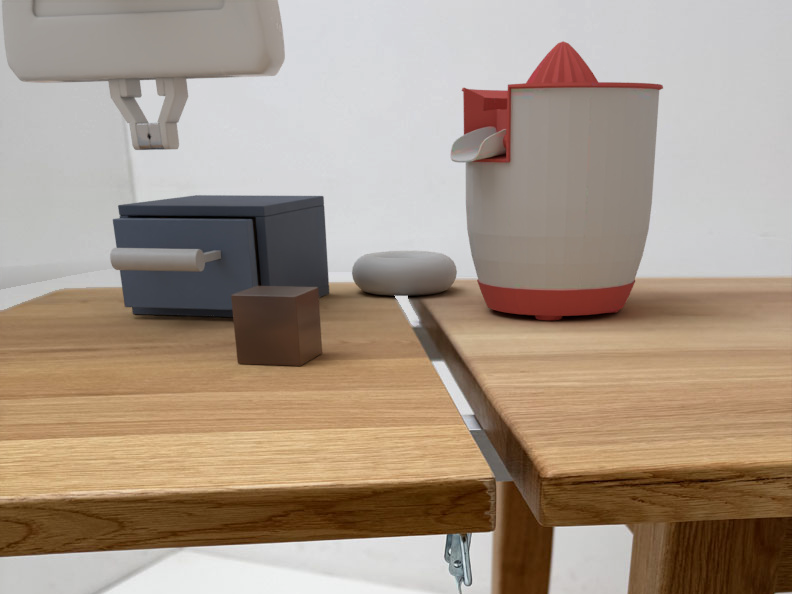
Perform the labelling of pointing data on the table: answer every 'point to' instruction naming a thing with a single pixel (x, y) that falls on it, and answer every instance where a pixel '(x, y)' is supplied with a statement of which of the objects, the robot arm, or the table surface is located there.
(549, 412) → the table surface
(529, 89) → the citrus juicer
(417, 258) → the donut
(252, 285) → the drawer
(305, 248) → the cabinet
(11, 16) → the robot arm
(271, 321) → the block
